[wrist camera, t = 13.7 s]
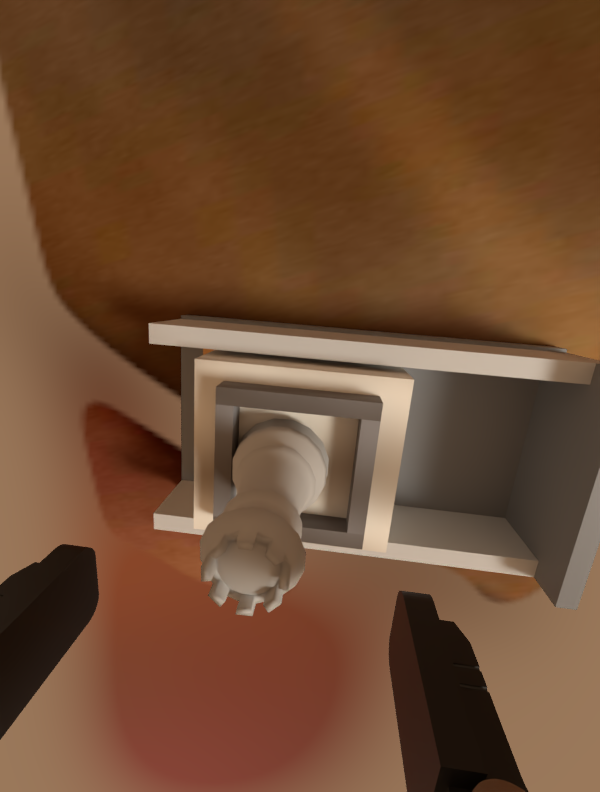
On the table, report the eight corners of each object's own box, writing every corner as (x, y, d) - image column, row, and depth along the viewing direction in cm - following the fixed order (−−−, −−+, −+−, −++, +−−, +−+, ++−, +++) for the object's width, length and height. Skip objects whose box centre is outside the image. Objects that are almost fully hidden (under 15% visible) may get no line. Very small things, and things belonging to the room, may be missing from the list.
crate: (225, 345, 22) (184, 363, 16) (396, 361, 21) (420, 386, 15) (221, 482, 24) (184, 543, 18) (375, 501, 24) (389, 569, 18)
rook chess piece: (229, 486, 19) (155, 619, 11) (248, 404, 17) (180, 487, 10) (315, 510, 19) (302, 660, 11) (340, 428, 17) (344, 533, 10)
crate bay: (187, 314, 23) (126, 321, 16) (556, 346, 22) (657, 369, 15) (187, 488, 26) (136, 554, 19) (509, 527, 25) (575, 613, 18)
